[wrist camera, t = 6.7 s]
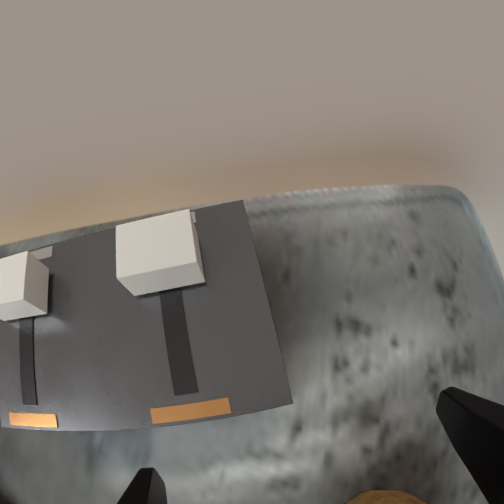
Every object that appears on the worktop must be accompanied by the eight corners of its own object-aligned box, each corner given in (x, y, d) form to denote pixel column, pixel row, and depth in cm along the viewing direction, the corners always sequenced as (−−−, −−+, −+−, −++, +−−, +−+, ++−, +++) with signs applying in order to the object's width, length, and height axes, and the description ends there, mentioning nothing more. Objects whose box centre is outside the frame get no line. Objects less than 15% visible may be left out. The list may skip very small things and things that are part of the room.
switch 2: (205, 281, 17) (196, 261, 15) (134, 295, 17) (116, 278, 14) (197, 233, 18) (189, 209, 16) (131, 248, 18) (115, 225, 16)
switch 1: (47, 313, 16) (23, 299, 14) (3, 320, 16) (-21, 308, 14) (49, 268, 18) (27, 250, 15) (6, 279, 17) (-15, 263, 15)
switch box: (283, 403, 21) (293, 403, 14) (58, 428, 19) (0, 426, 13) (247, 252, 26) (242, 198, 20) (50, 292, 25) (2, 257, 18)
